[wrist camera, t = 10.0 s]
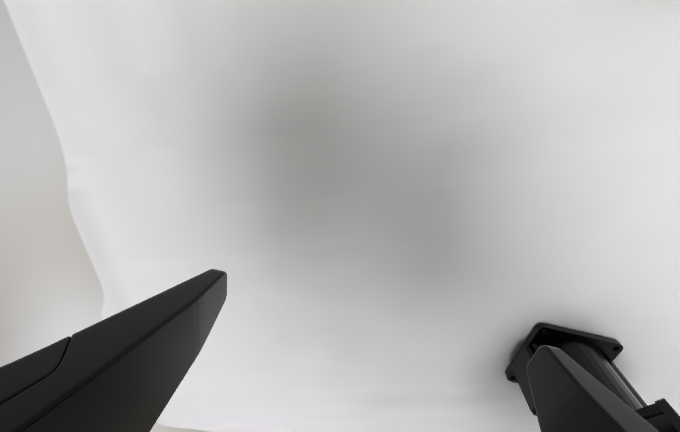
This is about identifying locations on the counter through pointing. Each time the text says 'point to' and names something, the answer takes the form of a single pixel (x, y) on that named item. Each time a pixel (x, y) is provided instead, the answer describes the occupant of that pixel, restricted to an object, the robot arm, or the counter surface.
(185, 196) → the counter surface
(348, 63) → the counter surface
